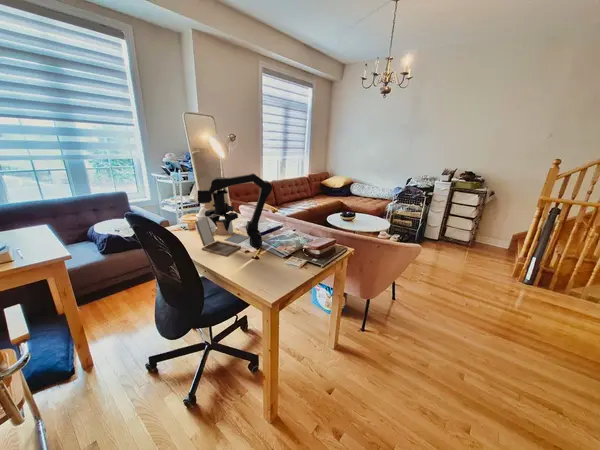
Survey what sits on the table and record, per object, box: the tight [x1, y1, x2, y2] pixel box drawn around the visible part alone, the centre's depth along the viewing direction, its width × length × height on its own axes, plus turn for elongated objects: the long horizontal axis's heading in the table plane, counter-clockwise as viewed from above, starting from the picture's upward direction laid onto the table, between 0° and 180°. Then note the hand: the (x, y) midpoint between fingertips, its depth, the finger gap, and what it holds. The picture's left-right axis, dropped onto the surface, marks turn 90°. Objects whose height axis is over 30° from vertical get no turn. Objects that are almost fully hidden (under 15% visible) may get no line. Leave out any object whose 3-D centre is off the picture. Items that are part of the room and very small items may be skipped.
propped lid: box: [194, 217, 216, 247], centre depth 140 cm, size 15×8×1 cm
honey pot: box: [195, 203, 217, 235], centre depth 165 cm, size 13×13×18 cm
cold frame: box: [201, 217, 241, 257], centre depth 137 cm, size 24×12×17 cm, turn 63°
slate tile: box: [224, 233, 250, 244], centre depth 152 cm, size 11×11×1 cm
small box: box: [219, 217, 234, 235], centre depth 161 cm, size 8×6×10 cm
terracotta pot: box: [216, 219, 230, 237], centre depth 133 cm, size 6×6×8 cm
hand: (223, 229), depth 134 cm, fingers closed on terracotta pot, 6 cm apart
